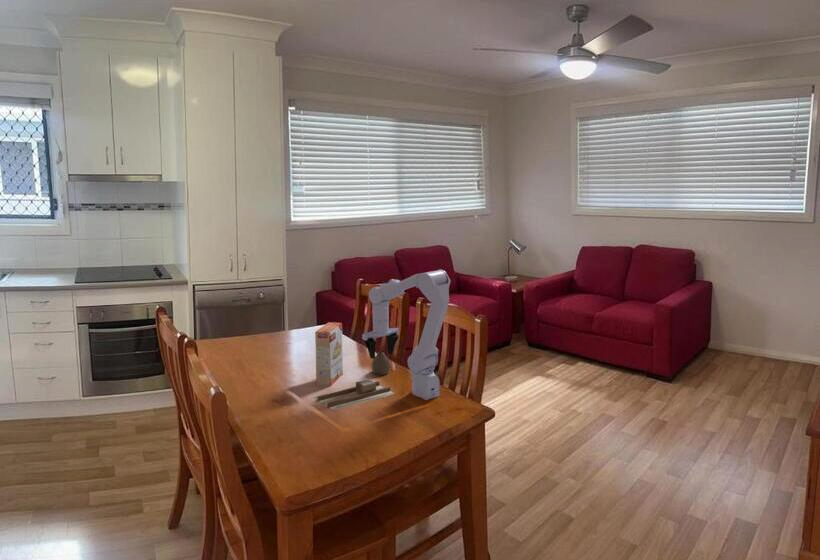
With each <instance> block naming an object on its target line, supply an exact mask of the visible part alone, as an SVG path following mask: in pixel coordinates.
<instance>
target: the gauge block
mask: <svg viewBox="0 0 820 560" xmlns="http://www.w3.org/2000/svg"><path fill="white" fill-rule="evenodd" d="M374 382H375V381H372V380H370V379H369V378H367V379H363V380H360V381H355V387H356V392H357V393H359V394H363V393H367V392H371V391H375V390H376V383H374Z"/></svg>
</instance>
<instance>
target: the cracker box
mask: <svg viewBox="0 0 820 560" xmlns="http://www.w3.org/2000/svg"><path fill="white" fill-rule="evenodd" d="M314 334H315V335H314V336H315V339H314V341H315V377H316V378H315V382H316V385H315V386H318V387H319V386H321V387H332V386H333V385H334V383H336V382H337V380H339V378H341V377H342V376H343V374H344V373H343V367H344V366H343V323H342V322H330V321H329V322H327V323H326V324H324V325H322V326H321V327H320V328H318V329H316V330H315V332H314Z"/></svg>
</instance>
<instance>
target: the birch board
mask: <svg viewBox="0 0 820 560" xmlns="http://www.w3.org/2000/svg"><path fill="white" fill-rule="evenodd" d="M373 382H374V383H376V390H375V391H371V392H367V393H363V394H359V393H357V392H356V386H352V387H348V388H345V389H341V390H336V391H333V392H329V393H324V394H320V395H317V396H314V397H313V399H315V400H317V401H319V402H320V403H321V404H323V405H324V406H325V407H327V408H329V409H330V410H332V411H338V410H342V409H345V408H349V407H353V406H356V405H360V404H363V403H366V402H370V401H374V400H377V399H378V400H379V399H382V398H385V397H389V396H394V395H396V393H395V392H394V391H391V387H390V386H387V387H383V386H382V385H380V381H373Z"/></svg>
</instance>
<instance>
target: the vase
mask: <svg viewBox="0 0 820 560" xmlns="http://www.w3.org/2000/svg"><path fill="white" fill-rule="evenodd" d="M390 370H391V362H390V360H389V358H388V357H387V355H386V354H385V352H384V351H379V352H377V353H376V354H375V359H372V362H371V371H372V372H373V374H374V375H376V376H384V375H388V374H389V373H390Z"/></svg>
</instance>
